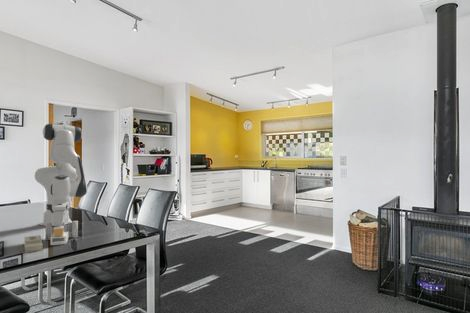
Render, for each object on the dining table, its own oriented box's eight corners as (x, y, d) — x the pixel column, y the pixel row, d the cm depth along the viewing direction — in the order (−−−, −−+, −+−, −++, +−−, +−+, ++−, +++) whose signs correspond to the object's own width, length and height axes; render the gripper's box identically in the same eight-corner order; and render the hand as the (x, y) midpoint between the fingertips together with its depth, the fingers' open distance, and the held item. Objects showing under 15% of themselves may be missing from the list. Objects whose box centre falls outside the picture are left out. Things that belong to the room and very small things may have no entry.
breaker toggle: (54, 235, 161) (54, 226, 161) (63, 234, 163) (63, 226, 163) (54, 236, 159) (54, 227, 159) (62, 235, 161) (62, 227, 161)
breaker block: (54, 239, 169) (54, 232, 169) (68, 238, 171) (68, 231, 171) (50, 245, 158) (50, 237, 158) (65, 244, 160) (65, 236, 160)
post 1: (46, 238, 170) (46, 222, 170) (52, 238, 171) (52, 222, 171) (45, 240, 167) (45, 223, 168) (51, 239, 169) (51, 223, 169)
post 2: (72, 236, 175) (72, 221, 175) (78, 236, 176) (78, 220, 176) (71, 237, 172) (71, 222, 173) (77, 237, 174) (77, 221, 174)
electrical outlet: (24, 244, 145) (24, 236, 160) (24, 253, 145) (24, 244, 160) (42, 242, 150) (40, 235, 164) (42, 250, 149) (40, 242, 164)
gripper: (57, 202, 177) (57, 226, 177) (51, 208, 158) (51, 234, 158) (69, 202, 180) (69, 225, 180) (65, 207, 161) (65, 233, 161)
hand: (60, 229), depth 169 cm, fingers open, 8 cm apart
